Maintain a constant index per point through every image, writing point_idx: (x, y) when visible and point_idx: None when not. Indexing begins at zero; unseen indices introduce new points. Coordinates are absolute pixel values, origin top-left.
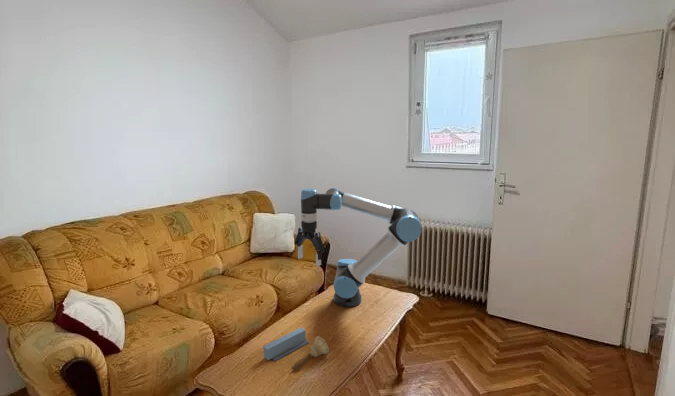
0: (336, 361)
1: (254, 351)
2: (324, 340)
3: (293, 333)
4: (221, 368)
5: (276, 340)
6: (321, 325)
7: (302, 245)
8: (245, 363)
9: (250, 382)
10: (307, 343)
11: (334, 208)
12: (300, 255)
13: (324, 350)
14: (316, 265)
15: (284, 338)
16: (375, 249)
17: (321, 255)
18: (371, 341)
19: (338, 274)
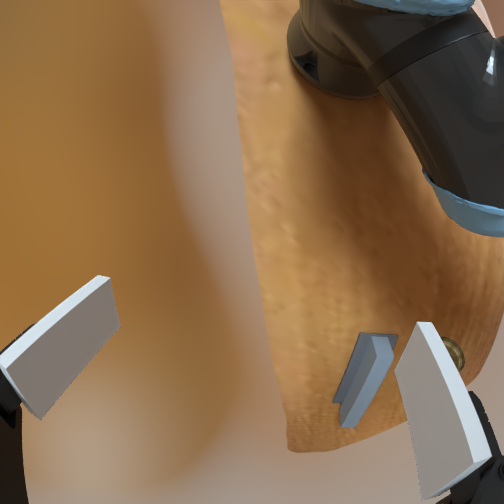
0: (469, 337)
1: (307, 404)
2: (460, 370)
3: (373, 381)
4: (295, 438)
5: (352, 410)
6: (385, 252)
7: (2, 367)
8: (319, 422)
9: (358, 433)
10: (396, 339)
11: None
12: (97, 328)
13: (455, 360)
14: (402, 375)
15: (365, 400)
16: None
17: (489, 436)
18: None
19: (477, 154)
